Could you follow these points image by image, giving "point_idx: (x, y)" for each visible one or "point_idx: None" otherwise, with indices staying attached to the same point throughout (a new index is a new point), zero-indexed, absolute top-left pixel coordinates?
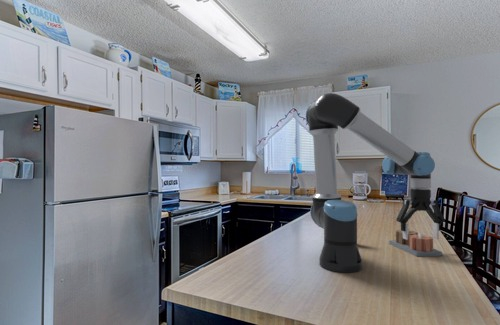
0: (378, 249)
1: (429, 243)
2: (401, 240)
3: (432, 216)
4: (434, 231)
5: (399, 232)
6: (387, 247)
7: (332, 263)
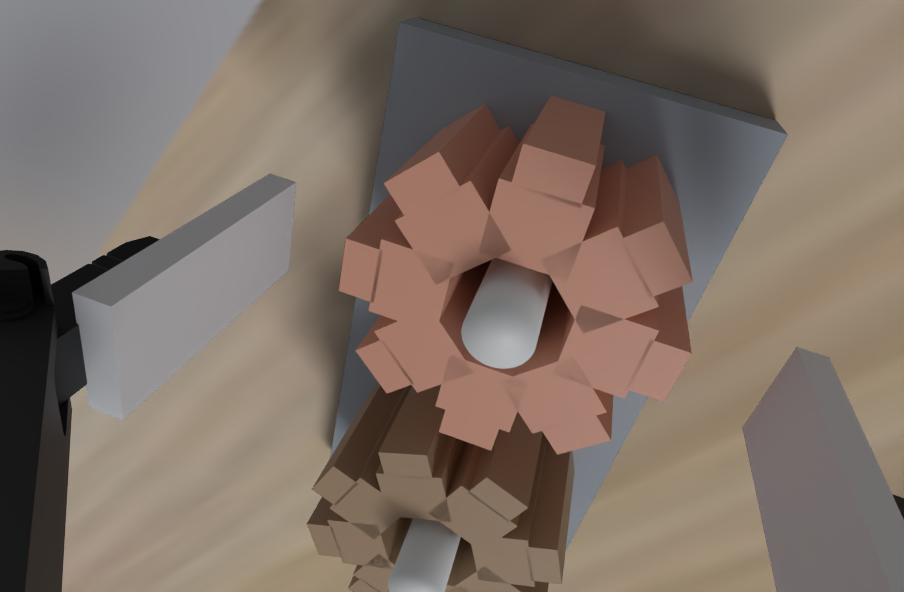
0: (899, 492)
1: (540, 125)
2: (568, 477)
3: (46, 502)
4: (230, 284)
5: (550, 579)
6: (713, 486)
7: None
